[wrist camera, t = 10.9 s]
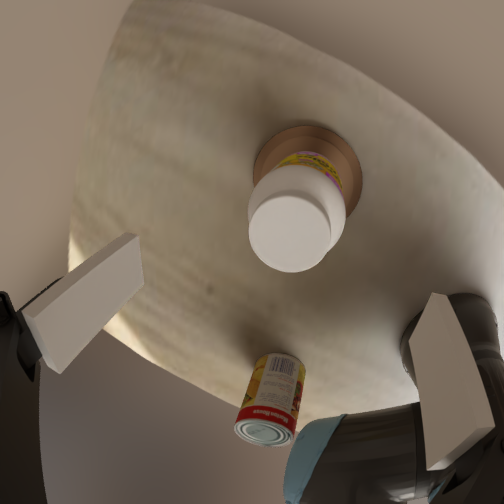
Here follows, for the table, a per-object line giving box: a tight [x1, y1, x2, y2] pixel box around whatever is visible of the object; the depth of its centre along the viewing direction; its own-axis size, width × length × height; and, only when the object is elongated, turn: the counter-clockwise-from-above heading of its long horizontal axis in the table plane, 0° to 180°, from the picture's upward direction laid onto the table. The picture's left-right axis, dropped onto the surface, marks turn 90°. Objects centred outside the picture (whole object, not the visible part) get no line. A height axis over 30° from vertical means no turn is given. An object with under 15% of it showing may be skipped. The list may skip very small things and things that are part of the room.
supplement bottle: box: [248, 151, 346, 272], centre depth 22 cm, size 7×7×13 cm
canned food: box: [234, 353, 305, 447], centre depth 37 cm, size 8×8×12 cm
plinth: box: [253, 126, 362, 218], centre depth 28 cm, size 11×11×2 cm
